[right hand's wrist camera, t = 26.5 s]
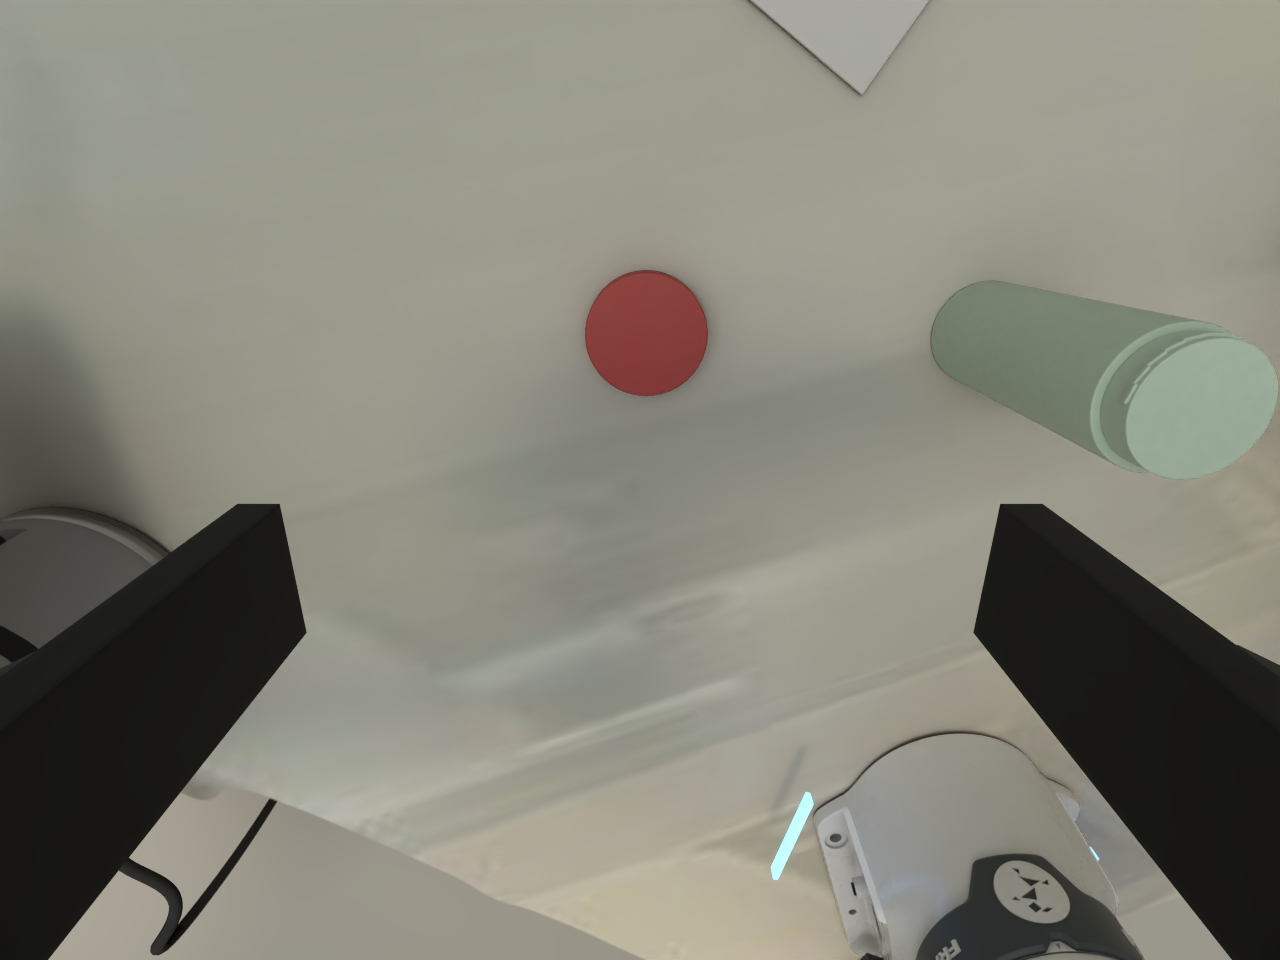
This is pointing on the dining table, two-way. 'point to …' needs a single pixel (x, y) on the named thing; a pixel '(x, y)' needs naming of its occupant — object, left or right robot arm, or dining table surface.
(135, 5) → the dining table surface
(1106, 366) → the jar
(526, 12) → the dining table surface
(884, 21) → the invitation card
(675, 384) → the lid
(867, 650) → the dining table surface
